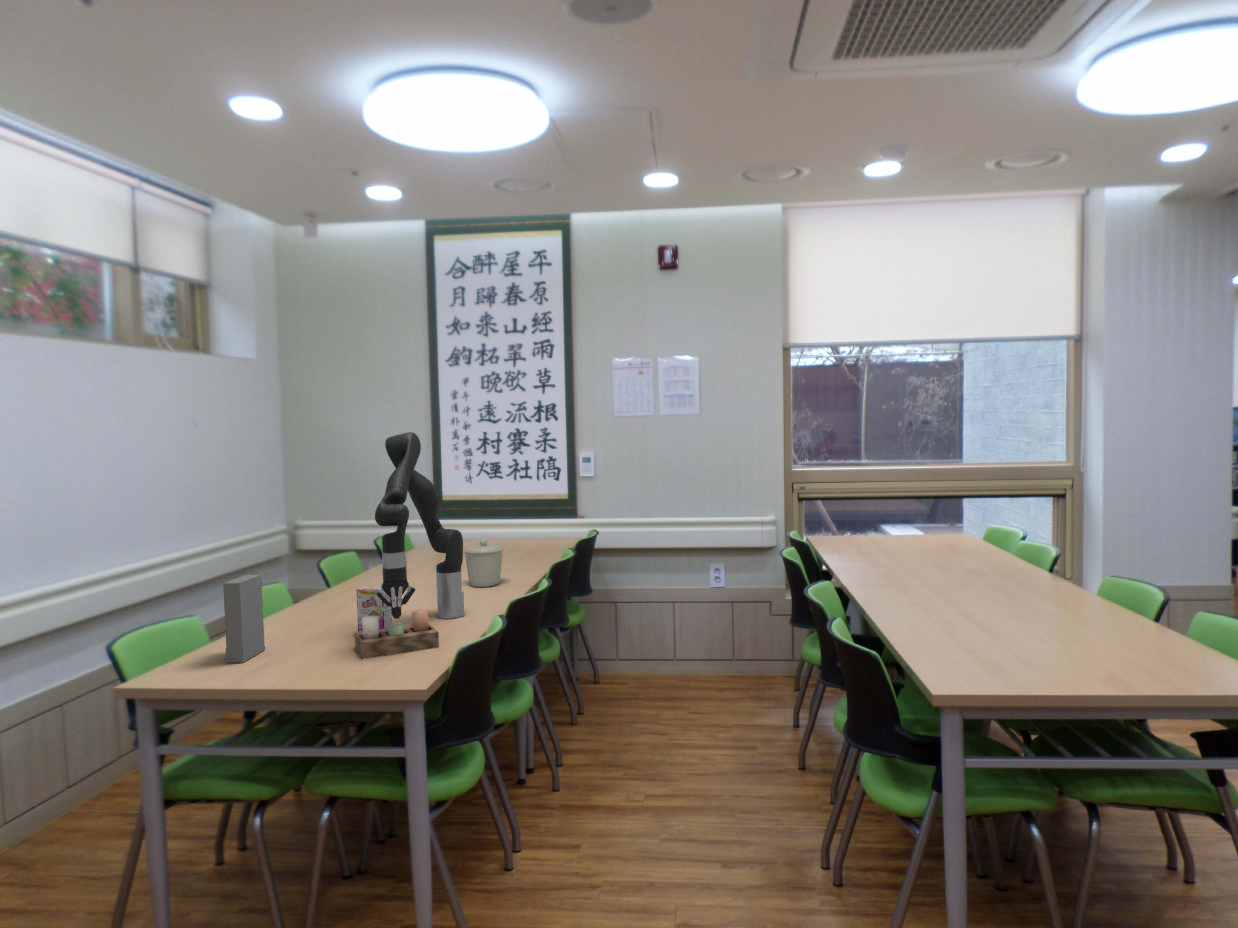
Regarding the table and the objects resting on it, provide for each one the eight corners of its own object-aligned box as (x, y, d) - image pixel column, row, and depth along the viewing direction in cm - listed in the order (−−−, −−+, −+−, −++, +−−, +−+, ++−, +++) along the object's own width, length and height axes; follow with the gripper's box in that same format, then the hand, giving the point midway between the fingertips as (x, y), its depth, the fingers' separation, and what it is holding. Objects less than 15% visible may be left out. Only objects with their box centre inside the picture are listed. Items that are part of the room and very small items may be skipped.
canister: (458, 589, 344) (456, 541, 343) (472, 580, 362) (471, 536, 361) (497, 589, 341) (496, 542, 340) (509, 581, 359) (508, 536, 358)
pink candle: (426, 629, 260) (425, 608, 260) (430, 632, 256) (429, 611, 255) (411, 631, 258) (410, 610, 257) (415, 635, 253) (414, 613, 253)
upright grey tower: (246, 650, 253) (243, 574, 252) (265, 650, 253) (261, 574, 252) (224, 663, 240) (220, 583, 238) (243, 663, 239) (239, 583, 238)
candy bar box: (357, 635, 269) (355, 588, 268) (366, 632, 274) (364, 586, 273) (384, 637, 265) (382, 590, 264) (393, 634, 270) (391, 587, 269)
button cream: (377, 636, 253) (376, 614, 252) (380, 640, 248) (379, 617, 248) (361, 638, 250) (360, 616, 250) (364, 642, 246) (363, 620, 245)
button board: (427, 637, 265) (427, 622, 265) (438, 646, 253) (438, 631, 252) (354, 647, 254) (354, 632, 253) (362, 658, 241) (362, 642, 241)
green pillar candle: (402, 643, 257) (402, 621, 256) (406, 646, 252) (405, 625, 252) (387, 645, 254) (386, 624, 254) (390, 649, 250) (389, 627, 249)
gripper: (412, 561, 258) (414, 612, 259) (371, 565, 252) (373, 618, 253) (417, 564, 252) (419, 617, 253) (375, 569, 245) (378, 623, 246)
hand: (396, 617), depth 253 cm, fingers closed
